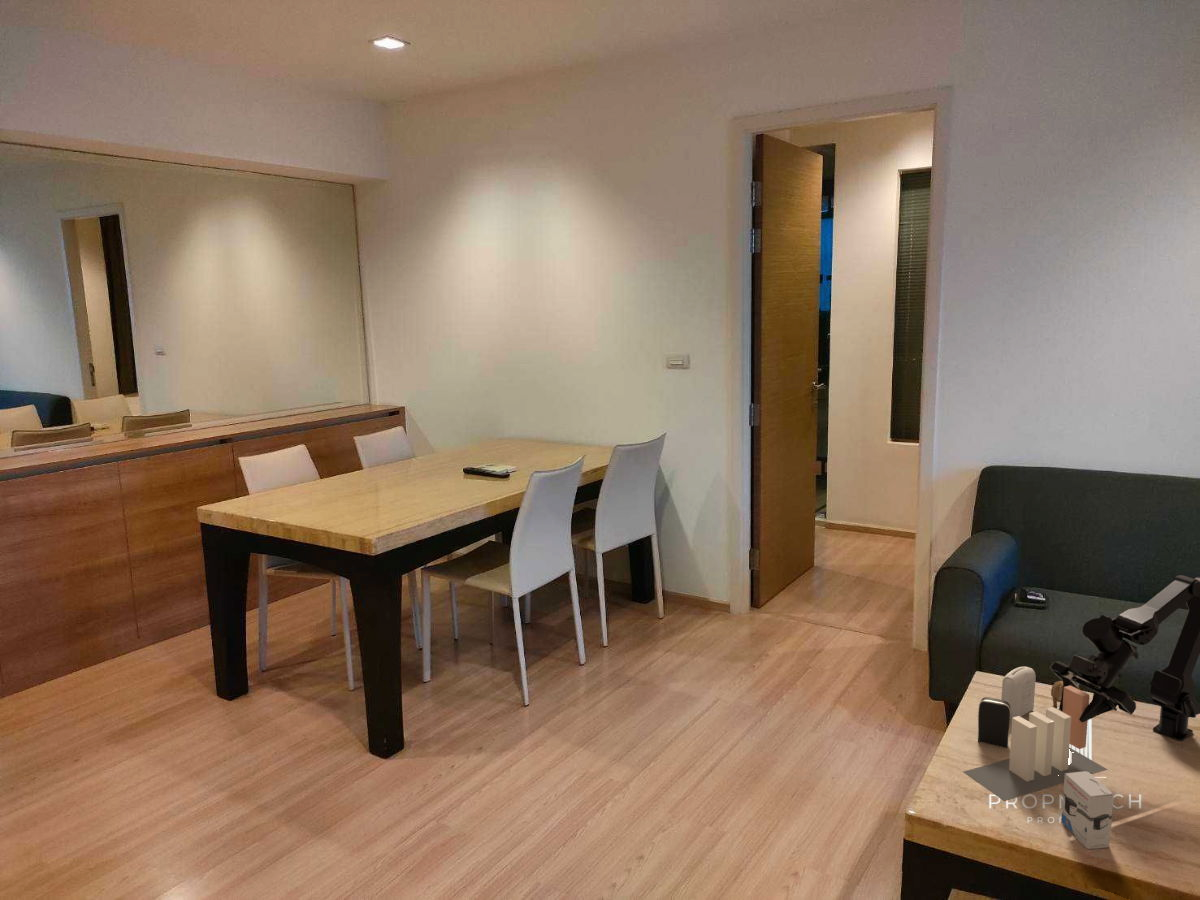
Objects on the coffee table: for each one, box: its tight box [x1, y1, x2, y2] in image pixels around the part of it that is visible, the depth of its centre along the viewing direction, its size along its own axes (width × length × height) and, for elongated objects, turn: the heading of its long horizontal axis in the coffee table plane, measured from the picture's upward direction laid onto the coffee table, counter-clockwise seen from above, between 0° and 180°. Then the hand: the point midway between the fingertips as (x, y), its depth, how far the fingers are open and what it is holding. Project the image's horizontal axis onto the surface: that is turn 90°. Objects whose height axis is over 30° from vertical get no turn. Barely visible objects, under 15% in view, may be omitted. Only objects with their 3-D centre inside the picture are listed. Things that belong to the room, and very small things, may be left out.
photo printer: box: [1000, 666, 1037, 720], centre depth 215 cm, size 10×4×12 cm, turn 123°
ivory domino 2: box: [1028, 711, 1055, 776], centre depth 189 cm, size 2×5×13 cm, turn 19°
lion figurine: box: [1050, 680, 1080, 709], centre depth 218 cm, size 15×5×9 cm, turn 138°
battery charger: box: [977, 696, 1011, 749], centre depth 201 cm, size 7×4×11 cm, turn 60°
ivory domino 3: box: [1045, 706, 1071, 771], centre depth 190 cm, size 2×5×13 cm, turn 20°
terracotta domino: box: [1061, 685, 1090, 750], centre depth 191 cm, size 2×5×13 cm, turn 20°
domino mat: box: [963, 746, 1108, 802], centre depth 190 cm, size 30×12×1 cm, turn 110°
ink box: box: [1061, 771, 1115, 850], centre depth 167 cm, size 8×5×12 cm, turn 5°
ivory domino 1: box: [1009, 716, 1037, 781], centre depth 187 cm, size 2×5×13 cm, turn 20°
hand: (1070, 715), depth 191 cm, fingers closed on terracotta domino, 5 cm apart
